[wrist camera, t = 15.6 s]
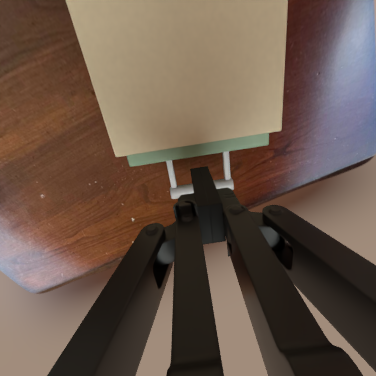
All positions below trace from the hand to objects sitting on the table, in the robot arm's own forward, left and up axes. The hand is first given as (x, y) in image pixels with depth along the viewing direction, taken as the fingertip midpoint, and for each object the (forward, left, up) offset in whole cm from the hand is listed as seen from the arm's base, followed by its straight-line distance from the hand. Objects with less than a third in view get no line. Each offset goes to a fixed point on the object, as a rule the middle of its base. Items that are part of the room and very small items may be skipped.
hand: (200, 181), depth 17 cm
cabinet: (0, -11, -10) cm, 15 cm away
